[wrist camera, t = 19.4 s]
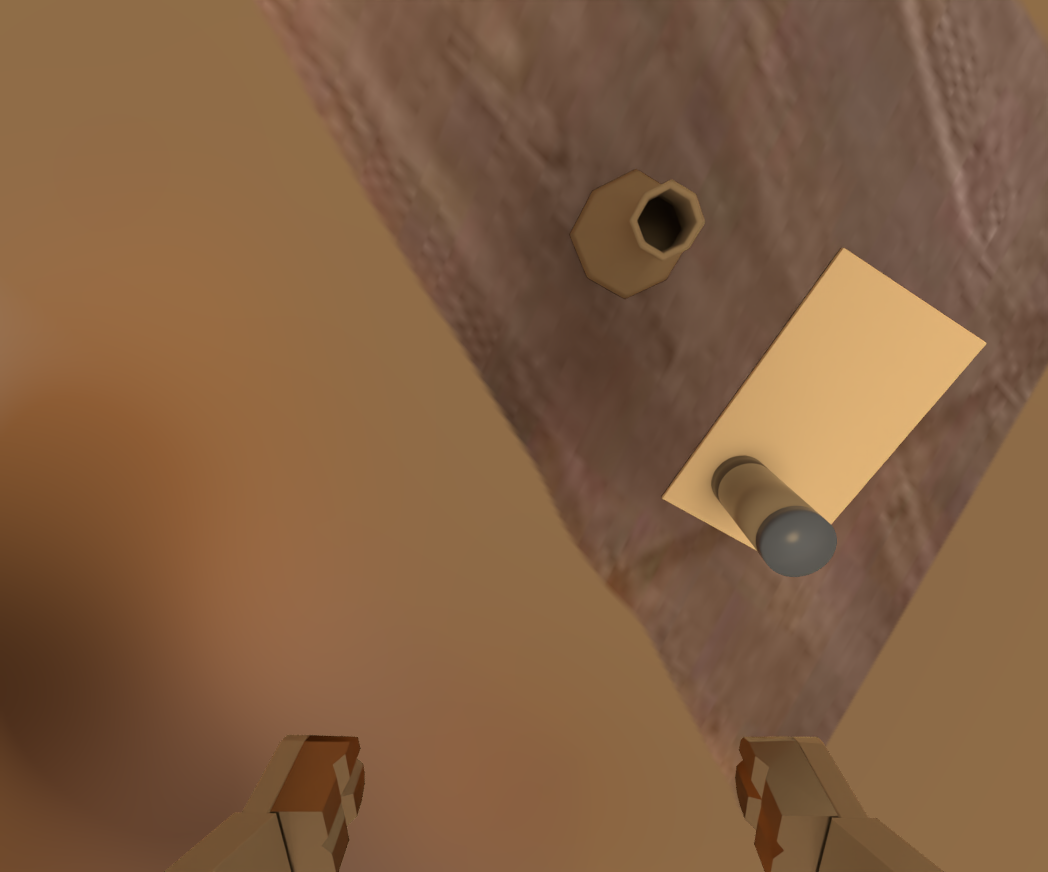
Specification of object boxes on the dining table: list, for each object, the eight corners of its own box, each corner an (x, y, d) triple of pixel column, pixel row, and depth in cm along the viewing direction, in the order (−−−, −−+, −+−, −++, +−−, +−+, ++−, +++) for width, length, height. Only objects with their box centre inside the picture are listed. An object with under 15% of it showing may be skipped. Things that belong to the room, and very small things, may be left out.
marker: (733, 445, 36) (793, 501, 27) (778, 471, 36) (852, 534, 28) (700, 490, 37) (748, 557, 28) (744, 514, 37) (805, 588, 29)
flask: (637, 146, 30) (681, 87, 21) (710, 238, 32) (782, 224, 22) (549, 234, 32) (553, 218, 22) (622, 318, 33) (655, 336, 24)
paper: (841, 247, 32) (843, 247, 31) (982, 342, 33) (986, 343, 33) (661, 496, 37) (662, 498, 37) (789, 567, 39) (791, 569, 39)
